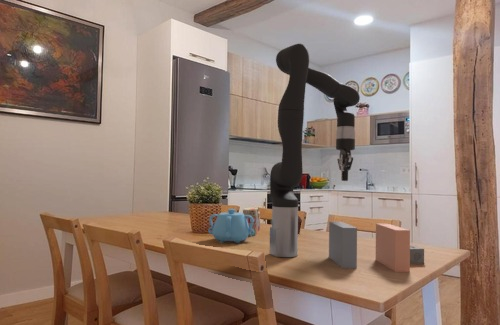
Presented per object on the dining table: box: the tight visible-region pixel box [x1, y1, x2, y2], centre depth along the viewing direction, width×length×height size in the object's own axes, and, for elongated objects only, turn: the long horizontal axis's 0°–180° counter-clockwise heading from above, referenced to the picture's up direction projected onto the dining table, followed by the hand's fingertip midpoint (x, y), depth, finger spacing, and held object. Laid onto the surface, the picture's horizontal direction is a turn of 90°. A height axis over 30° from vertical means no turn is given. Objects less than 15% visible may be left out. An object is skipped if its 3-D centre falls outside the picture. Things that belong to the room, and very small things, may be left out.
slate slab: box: [328, 221, 358, 269], centre depth 121 cm, size 15×4×12 cm, turn 4°
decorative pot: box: [208, 208, 254, 244], centre depth 157 cm, size 16×16×14 cm
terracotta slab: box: [375, 223, 411, 273], centre depth 118 cm, size 15×4×12 cm, turn 3°
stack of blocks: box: [242, 206, 261, 237], centre depth 181 cm, size 21×6×12 cm, turn 173°
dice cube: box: [410, 245, 425, 265], centre depth 124 cm, size 5×5×5 cm
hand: (344, 180), depth 149 cm, fingers closed
